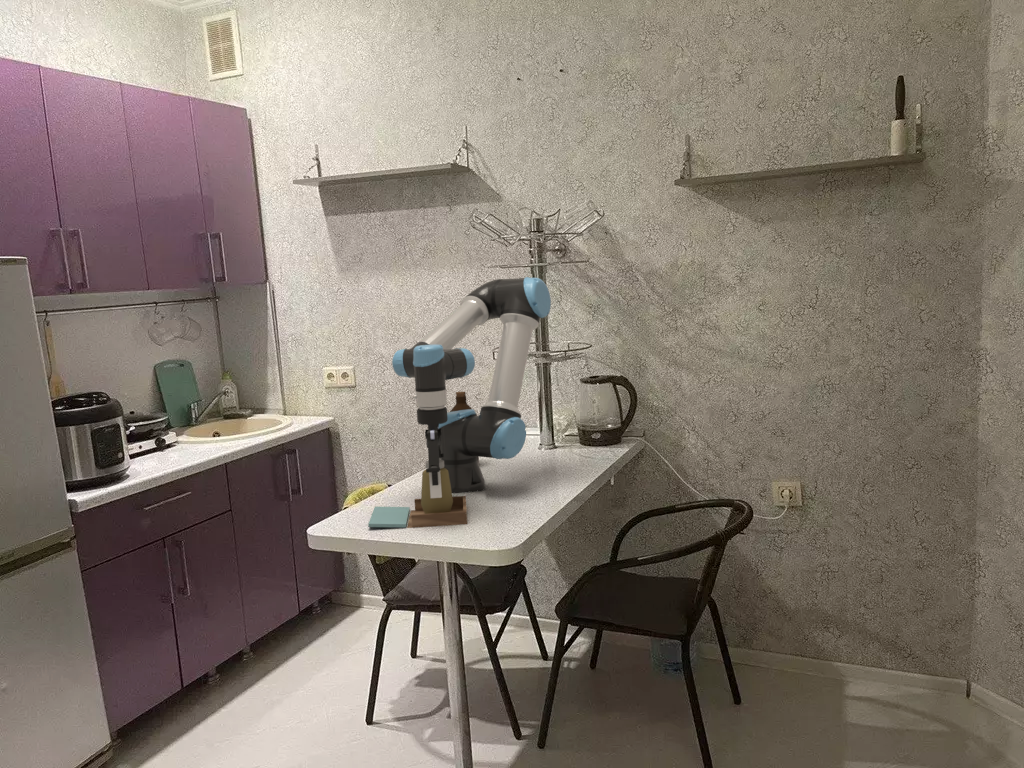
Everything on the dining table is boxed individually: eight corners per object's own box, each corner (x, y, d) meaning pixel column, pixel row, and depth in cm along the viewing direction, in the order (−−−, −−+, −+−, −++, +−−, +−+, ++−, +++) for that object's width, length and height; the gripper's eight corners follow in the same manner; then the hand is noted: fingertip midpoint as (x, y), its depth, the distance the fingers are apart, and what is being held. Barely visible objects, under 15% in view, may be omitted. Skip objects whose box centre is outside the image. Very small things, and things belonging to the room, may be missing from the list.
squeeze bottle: (448, 522, 188) (444, 450, 186) (417, 521, 190) (413, 450, 188) (457, 512, 196) (454, 443, 194) (427, 511, 198) (423, 443, 196)
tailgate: (409, 510, 200) (374, 509, 200) (409, 507, 200) (374, 506, 199) (405, 527, 185) (368, 526, 184) (405, 524, 185) (368, 523, 184)
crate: (410, 514, 200) (410, 499, 200) (466, 510, 201) (465, 495, 201) (407, 531, 185) (406, 515, 185) (467, 527, 186) (466, 512, 186)
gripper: (418, 400, 202) (424, 479, 205) (413, 416, 177) (419, 505, 180) (447, 399, 202) (452, 477, 205) (446, 414, 178) (451, 502, 180)
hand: (436, 490), depth 193 cm, fingers open, 13 cm apart
